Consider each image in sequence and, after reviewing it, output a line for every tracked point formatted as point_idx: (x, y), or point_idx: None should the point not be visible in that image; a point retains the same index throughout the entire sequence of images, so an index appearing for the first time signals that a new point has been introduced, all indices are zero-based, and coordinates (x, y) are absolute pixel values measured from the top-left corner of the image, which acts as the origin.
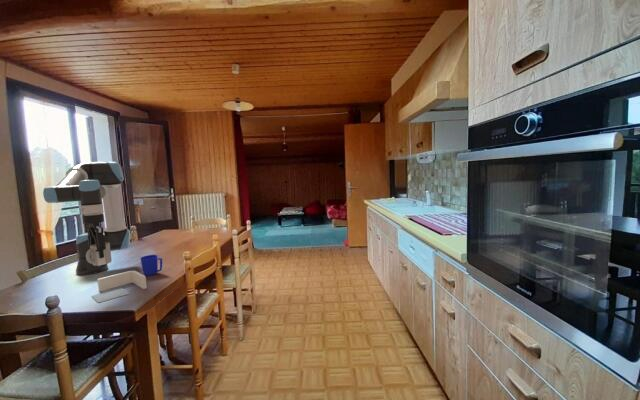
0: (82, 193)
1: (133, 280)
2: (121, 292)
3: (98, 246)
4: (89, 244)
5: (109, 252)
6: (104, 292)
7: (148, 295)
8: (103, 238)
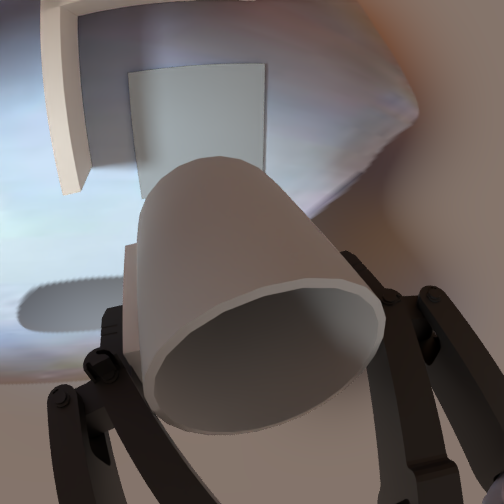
0: None
1: (91, 10)
2: (215, 84)
3: (431, 357)
4: (110, 444)
5: (301, 212)
6: (137, 148)
7: (355, 27)
8: (500, 381)
